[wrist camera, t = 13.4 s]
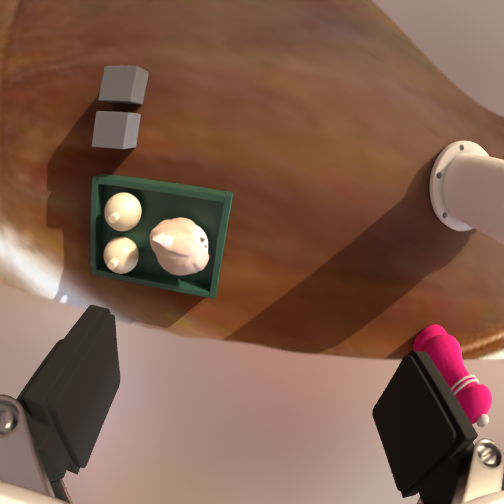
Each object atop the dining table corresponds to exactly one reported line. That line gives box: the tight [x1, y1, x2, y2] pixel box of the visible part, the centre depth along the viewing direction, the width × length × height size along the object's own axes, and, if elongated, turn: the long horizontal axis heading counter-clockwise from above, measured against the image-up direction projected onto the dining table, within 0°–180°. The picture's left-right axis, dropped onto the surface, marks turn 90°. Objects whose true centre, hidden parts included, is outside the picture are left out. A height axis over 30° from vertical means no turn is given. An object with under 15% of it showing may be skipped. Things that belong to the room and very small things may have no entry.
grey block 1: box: [98, 66, 149, 104], centre depth 28 cm, size 4×4×4 cm
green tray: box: [90, 174, 233, 298], centre depth 35 cm, size 17×13×3 cm
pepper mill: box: [413, 325, 492, 427], centre depth 34 cm, size 7×7×20 cm
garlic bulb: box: [150, 217, 209, 276], centre depth 33 cm, size 7×6×8 cm
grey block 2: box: [92, 111, 141, 149], centre depth 30 cm, size 4×4×4 cm
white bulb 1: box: [105, 193, 142, 231], centre depth 32 cm, size 4×4×5 cm
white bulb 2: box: [104, 237, 139, 274], centre depth 34 cm, size 4×4×5 cm
